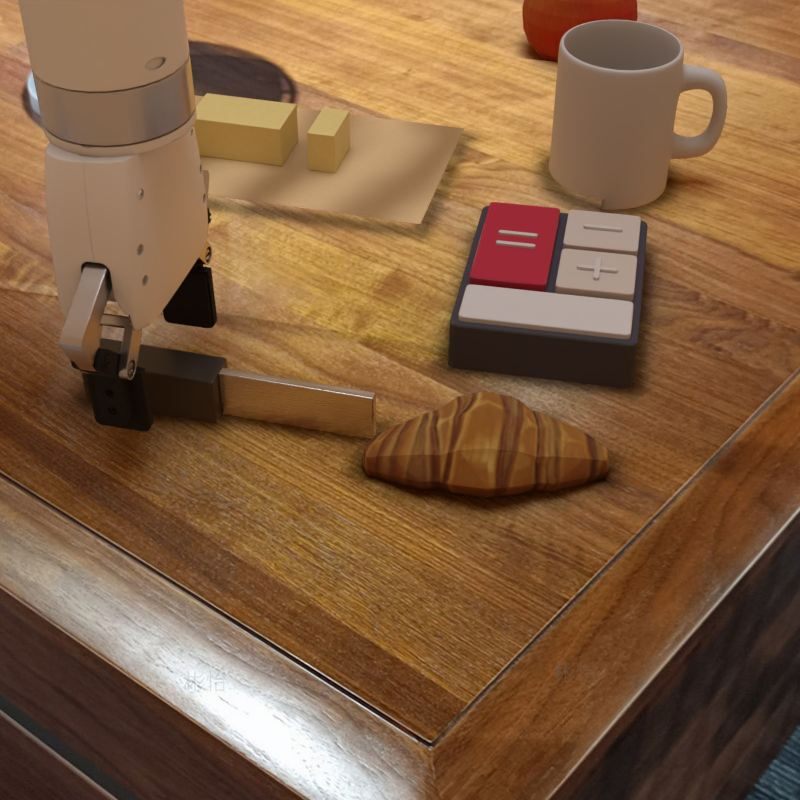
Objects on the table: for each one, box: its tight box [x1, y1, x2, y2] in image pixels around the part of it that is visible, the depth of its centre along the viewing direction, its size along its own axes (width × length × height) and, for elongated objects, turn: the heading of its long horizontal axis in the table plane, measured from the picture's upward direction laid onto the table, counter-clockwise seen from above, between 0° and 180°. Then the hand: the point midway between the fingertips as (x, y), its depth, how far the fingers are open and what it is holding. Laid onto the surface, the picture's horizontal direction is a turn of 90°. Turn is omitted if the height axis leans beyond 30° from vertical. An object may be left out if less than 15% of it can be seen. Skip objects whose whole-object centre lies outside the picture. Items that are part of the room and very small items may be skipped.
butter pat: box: [307, 107, 350, 173], centre depth 98 cm, size 2×4×3 cm, turn 166°
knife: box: [81, 337, 377, 440], centre depth 77 cm, size 17×2×4 cm, turn 76°
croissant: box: [360, 390, 611, 500], centre depth 73 cm, size 14×7×5 cm, turn 89°
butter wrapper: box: [194, 94, 465, 225], centre depth 99 cm, size 22×14×2 cm, turn 76°
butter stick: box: [194, 92, 298, 166], centre depth 99 cm, size 7×4×3 cm, turn 76°
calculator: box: [447, 201, 648, 389], centre depth 85 cm, size 11×4×15 cm
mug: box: [548, 20, 728, 210], centre depth 95 cm, size 12×8×11 cm
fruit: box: [521, 0, 639, 63], centre depth 111 cm, size 10×10×10 cm
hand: (159, 371), depth 77 cm, fingers open, 9 cm apart
